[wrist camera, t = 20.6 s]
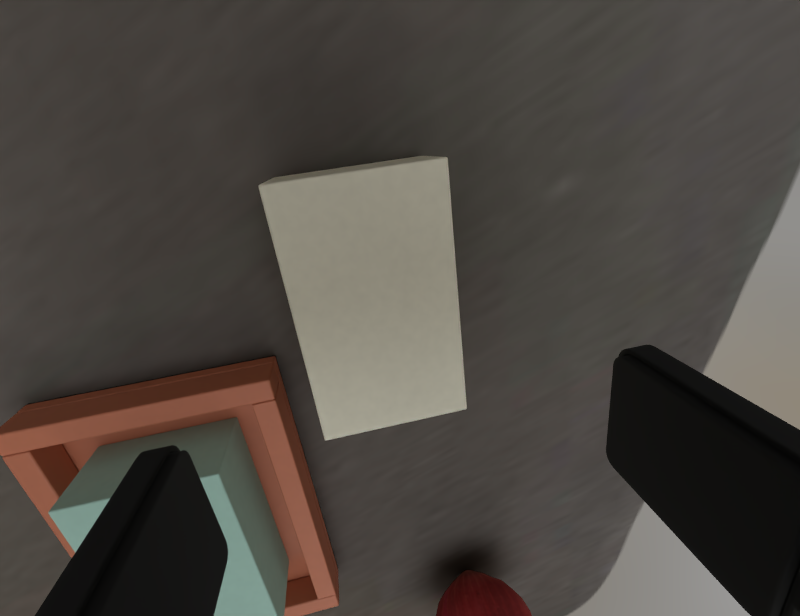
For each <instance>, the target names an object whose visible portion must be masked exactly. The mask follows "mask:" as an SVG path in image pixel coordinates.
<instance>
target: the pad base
mask: <svg viewBox="0 0 800 616" xmlns="http://www.w3.org/2000/svg"><path fill="white" fill-rule="evenodd" d="M171 445H175V446H177V447H178V448H179V450H180V451H182V450H186V451H187V452H188V453H189V455H190V456H191V459H192V461H193V464H194V466H195V468H196V471H197V473H198V475H199V478H200V480H201V482H202V485H203V487H204V489H205V492H206V494H207V497H208V499H209V501H210V504H211V506H212V508H213V511H214V513H215V515H216V518H217V520H218V522H219V525H220V527H221V530H222V532H223V534H224V537H225V539H226V542H227V546H228V560H227V565H226V569H225V573H224V577H223V581H222V585H221V589H220V593H219V597H218V601H217V605H216V609H215V613H214V616H284V612H285V601H286V590H287V578H288V567H289V559H288V556H287V553H286V550H285V548H284V545H283V542H282V539H281V537H280V534H279V531H278V528H277V526H276V523H275V520H274V517H273V515H272V512H271V509H270V506H269V504H268V501H267V498H266V495H265V493H264V490H263V487H262V484H261V482H260V479H259V476H258V473H257V471H256V468H255V465H254V462H253V460H252V457H251V454H250V452H249V449H248V446H247V443H246V441H245V438H244V435H243V432H242V430H241V427H240V424H239V421H238V419H237V417H235V418H230V419H225V420H221V421H216V422H211V423H206V424H202V425H197V426H192V427H188V428H183V429H178V430H173V431H169V432H164V433H159V434H154V435H150V436H145V437H140V438H135V439H131V440H126V441H121V442H117V443H112V444H107V445H102V446H99V447H98V448H97V449H96V451H95V452H94V453H93V454H92V456H91V457H90V458H89V460H88V461H87V462H86V464H85V465H84V466H83V467H82V469H81V470H80V471H79V473H78V474H77V475H76V477H75V478H74V479H73V480H72V482H71V483H70V484H69V486H68V487H67V488H66V490H65V491H64V492H63V494H62V495H61V496H60V497H59V499H58V500H57V501H56V503H55V504H54V505H53V507H52V508H51V509H50V510H49V512H48V514H49V515H50V517H51V518H52V520H53V521H54V522H55V524H56V525H57V527H58V528H59V530H60V531H61V533H62V534H63V536H64V537H65V539H66V540H67V542H68V543H69V544H70V546H71V547H72V549H73V550H74V552H75V553H76V551H77V549H78V548H79V546H80V545H81V543H82V542H83V540H84V539H85V537H86V535H87V534H88V532H89V531H90V529H91V528H92V526H93V525H94V523H95V521H96V520H97V518H98V517H99V515H100V514H101V512H102V511H103V509H104V507H105V506H106V504H107V503H108V501H109V500H110V498H111V497H112V495H113V493H114V492H115V490H116V489H117V487H118V486H119V484H120V483H121V481H122V479H123V478H124V476H125V475H126V473H127V472H128V470H129V469H130V467H131V465H132V464H133V462H134V461H135V459H136V458H137V456H138V455H139V454H140V453H141V452H143V451H147V450H152V449H156V448H161V447H166V446H171Z"/></svg>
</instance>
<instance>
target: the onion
mask: <svg viewBox="0 0 800 616" xmlns="http://www.w3.org/2000/svg"><path fill="white" fill-rule="evenodd" d="M436 616H532V615H531V612H530V610H529V609H528V607H527V605H526V604H525V602H524V601H523V599H522V598H521V597H520V596H519V595H518V594H517V593H516V592H515V591H514V590H513V589H511V588H510V587H509V586H508V585H507V584H505V583H504V582H503V581H502V580H499V579H496V578H493V577H490V576H488V575H486V574H484V573H481V572H476V571H472V570H466V571H463V572H462V573H461V574H460V575H459V576H458V577H457V578H456V579H455V580H454V581H453V583H452V584H451V585H450V586H449V587H448V589H447V590H446V591H445V593H444V595H443V596H442V598H441V600H440V602H439V604H438V609H437V614H436Z"/></svg>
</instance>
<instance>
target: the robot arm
mask: <svg viewBox="0 0 800 616" xmlns="http://www.w3.org/2000/svg"><path fill="white" fill-rule="evenodd" d="M606 453H607V457H608V460H609V462H610V463H611V465H612V466H613V468H614V469H615V470H616V471H617V472H618V473H619V474H620V475H621V476H622V477H623V478H624V479H625V481H626V482H627V483H628V484H629V485H630V486H631V487H632V488H633V489H634V490H635V491H636V492H637V494H638V495H639V496H640V497H641V498H642V499H643V500H644V501H645V502H646V503H647V504H648V505H649V506H650V508H651V509H652V510H653V511H654V512H655V513H656V514H657V515H658V516H659V517H660V518H661V520H662V521H663V522H664V523H665V524H666V525H667V526H668V527H669V528H670V529H671V530H672V531H673V533H675V535H676V536H677V537H678V538H679V539H680V540H681V541H682V542H683V543H684V544H685V546H686V547H687V548H688V549H689V550H690V551H691V552H692V553H693V554H694V555H695V556H696V557H697V558H698V560H699V561H700V562H701V563H702V564H703V565H704V566H705V567H706V568H707V569H708V570H709V571H710V573H711V574H712V575H713V576H714V577H715V578H716V579H717V580H718V581H719V582H720V583H721V584H722V586H723V587H724V588H725V589H726V590H727V591H728V592H729V593H730V594H731V595H732V596H733V597H734V598H735V600H736V601H737V602H738V603H739V604H740V605H741V606H742V607H743V608H744V609H745V610H746V611H747V612H748V613H749V614H750V615H751V616H800V430H799V429H797V428H795V427H794V426H792V425H790V424H788V423H787V422H785V421H783V420H781V419H780V418H778V417H776V416H774V415H773V414H771V413H769V412H767V411H765V410H764V409H762V408H760V407H759V406H757V405H755V404H753V403H752V402H750V401H748V400H747V399H745V398H743V397H741V396H739V395H738V394H736V393H734V392H733V391H731V390H729V389H727V388H726V387H724V386H722V385H721V384H719V383H717V382H715V381H714V380H712V379H710V378H708V377H706V376H705V375H703V374H701V373H700V372H698V371H696V370H694V369H693V368H691V367H689V366H687V365H686V364H684V363H682V362H681V361H679V360H677V359H675V358H674V357H672V356H670V355H668V354H667V353H665V352H663V351H661V350H660V349H658V348H656V347H654V346H652V345H643V346H638V347H633V348H629V349H624V350H622V351H621V352H620V354H619V357H618V358H616V359H615V361H614V364H613V376H612V387H611V399H610V410H609V422H608V433H607V445H606ZM227 560H228V546H227V542H226V539H225V537H224V534H223V532H222V530H221V527H220V525H219V522H218V520H217V518H216V515H215V513H214V511H213V508H212V506H211V504H210V501H209V499H208V497H207V494H206V492H205V489H204V487H203V485H202V482H201V480H200V478H199V475H198V473H197V471H196V468H195V466H194V464H193V461H192V459H191V456H190V455H189V453H188V452H187V451H186V450H182V451H180V450H179V448H178V447H177V446H175V445H171V446H166V447H161V448H156V449H152V450H147V451H143V452H141V453H140V454H139V455H138V456H137V458H136V459H135V461H134V462H133V464H132V465H131V467H130V469H129V470H128V472H127V473H126V475H125V476H124V478H123V479H122V481H121V483H120V484H119V486H118V487H117V489H116V490H115V492H114V493H113V495H112V497H111V498H110V500H109V501H108V503H107V504H106V506H105V507H104V509H103V511H102V512H101V514H100V515H99V517H98V518H97V520H96V521H95V523H94V525H93V526H92V528H91V529H90V531H89V532H88V534H87V535H86V537H85V539H84V540H83V542H82V543H81V545H80V546H79V548H78V549H77V551H76V553H75V554H74V556H73V557H72V559H71V560H70V562H69V563H68V565H67V567H66V568H65V570H64V571H63V573H62V574H61V576H60V577H59V579H58V581H57V582H56V584H55V585H54V587H53V588H52V590H51V591H50V593H49V595H48V596H47V598H46V599H45V601H44V602H43V604H42V605H41V607H40V609H39V610H38V612H37V613H36V615H35V616H214V613H215V609H216V605H217V601H218V597H219V593H220V589H221V585H222V581H223V577H224V573H225V569H226V565H227Z"/></svg>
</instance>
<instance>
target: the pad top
mask: <svg viewBox="0 0 800 616" xmlns="http://www.w3.org/2000/svg"><path fill="white" fill-rule="evenodd" d="M259 191H260V195H261V199H262V203H263V207H264V210H265V214H266V218H267V222H268V226H269V229H270V233H271V237H272V241H273V245H274V248H275V252H276V256H277V260H278V264H279V267H280V271H281V275H282V279H283V283H284V287H285V290H286V294H287V298H288V302H289V306H290V309H291V313H292V317H293V321H294V325H295V328H296V332H297V336H298V340H299V344H300V347H301V351H302V355H303V359H304V363H305V367H306V370H307V374H308V378H309V382H310V386H311V389H312V393H313V397H314V401H315V405H316V408H317V412H318V416H319V420H320V424H321V428H322V431H323V435H324V439H325V440H331V439H335V438H340V437H344V436H349V435H353V434H358V433H362V432H367V431H371V430H375V429H380V428H384V427H389V426H393V425H398V424H402V423H407V422H411V421H416V420H420V419H425V418H429V417H433V416H438V415H442V414H447V413H451V412H456V411H460V410H465V409H467V404H466V391H465V378H464V365H463V352H462V339H461V326H460V313H459V300H458V287H457V273H456V260H455V247H454V234H453V221H452V208H451V195H450V182H449V169H448V158H447V157H438V156H416V157H409V158H402V159H396V160H389V161H382V162H375V163H368V164H362V165H355V166H348V167H341V168H334V169H328V170H321V171H314V172H307V173H300V174H294V175H287V176H280V177H273V178H272V179H270V180H268V181H266V182H264V183H262V184H260V185H259Z"/></svg>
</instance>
